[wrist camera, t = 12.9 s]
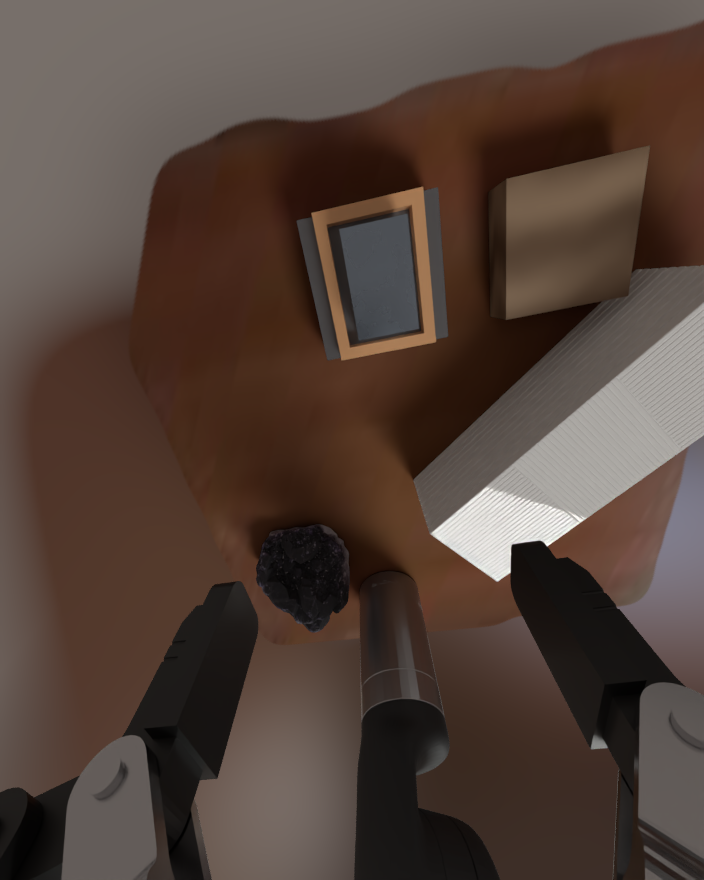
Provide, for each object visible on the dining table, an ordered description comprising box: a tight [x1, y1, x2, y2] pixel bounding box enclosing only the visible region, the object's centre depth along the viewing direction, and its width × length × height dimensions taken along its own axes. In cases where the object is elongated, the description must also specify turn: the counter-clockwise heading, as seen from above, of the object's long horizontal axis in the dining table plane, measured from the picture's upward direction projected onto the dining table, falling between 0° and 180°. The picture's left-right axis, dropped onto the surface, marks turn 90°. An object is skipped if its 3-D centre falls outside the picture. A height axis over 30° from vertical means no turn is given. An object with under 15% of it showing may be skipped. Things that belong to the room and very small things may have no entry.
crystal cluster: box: [256, 524, 350, 632], centre depth 45 cm, size 14×14×10 cm
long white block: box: [413, 265, 704, 582], centre depth 35 cm, size 32×11×11 cm, turn 140°
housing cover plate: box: [339, 214, 419, 341], centre depth 26 cm, size 5×8×2 cm, turn 11°
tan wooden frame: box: [297, 187, 448, 360], centre depth 31 cm, size 12×12×6 cm
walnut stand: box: [488, 146, 650, 320], centre depth 30 cm, size 11×11×4 cm
